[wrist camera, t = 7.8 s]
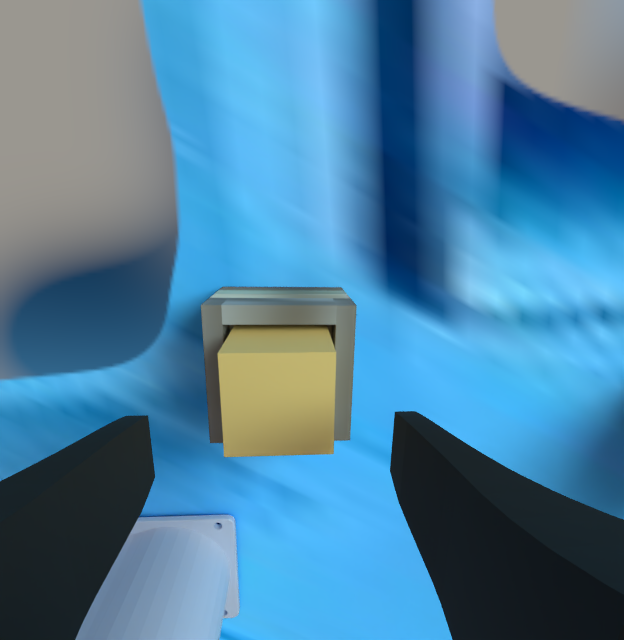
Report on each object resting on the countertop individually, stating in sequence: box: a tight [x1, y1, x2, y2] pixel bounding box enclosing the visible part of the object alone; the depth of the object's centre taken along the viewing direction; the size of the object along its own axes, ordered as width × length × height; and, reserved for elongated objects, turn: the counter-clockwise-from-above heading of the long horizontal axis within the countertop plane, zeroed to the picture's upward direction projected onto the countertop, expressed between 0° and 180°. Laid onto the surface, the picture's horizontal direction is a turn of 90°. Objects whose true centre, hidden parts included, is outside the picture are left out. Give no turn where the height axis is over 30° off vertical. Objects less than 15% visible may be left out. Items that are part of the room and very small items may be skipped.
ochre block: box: [218, 325, 336, 457], centre depth 14 cm, size 4×4×4 cm
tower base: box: [201, 287, 356, 443], centre depth 17 cm, size 6×6×4 cm
